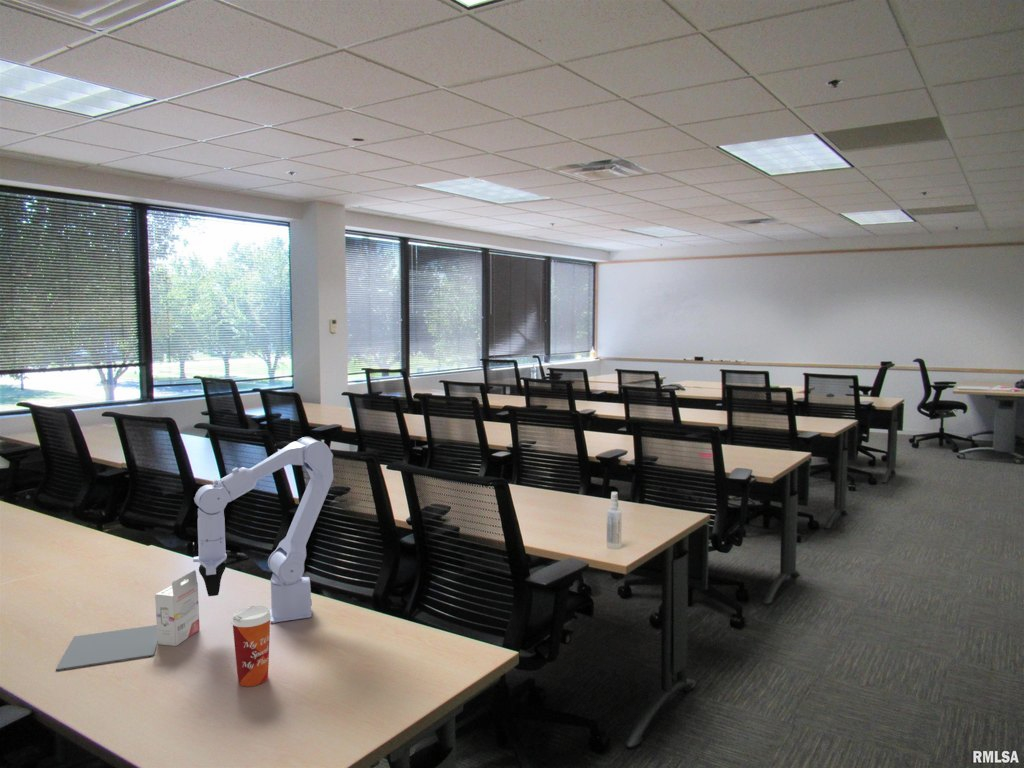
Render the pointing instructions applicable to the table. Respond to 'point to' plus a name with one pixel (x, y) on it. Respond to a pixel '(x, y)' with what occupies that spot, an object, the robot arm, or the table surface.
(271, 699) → the table surface
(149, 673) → the table surface
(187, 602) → the ink cartridge box
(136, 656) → the mat
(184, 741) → the table surface
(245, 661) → the paper cup
